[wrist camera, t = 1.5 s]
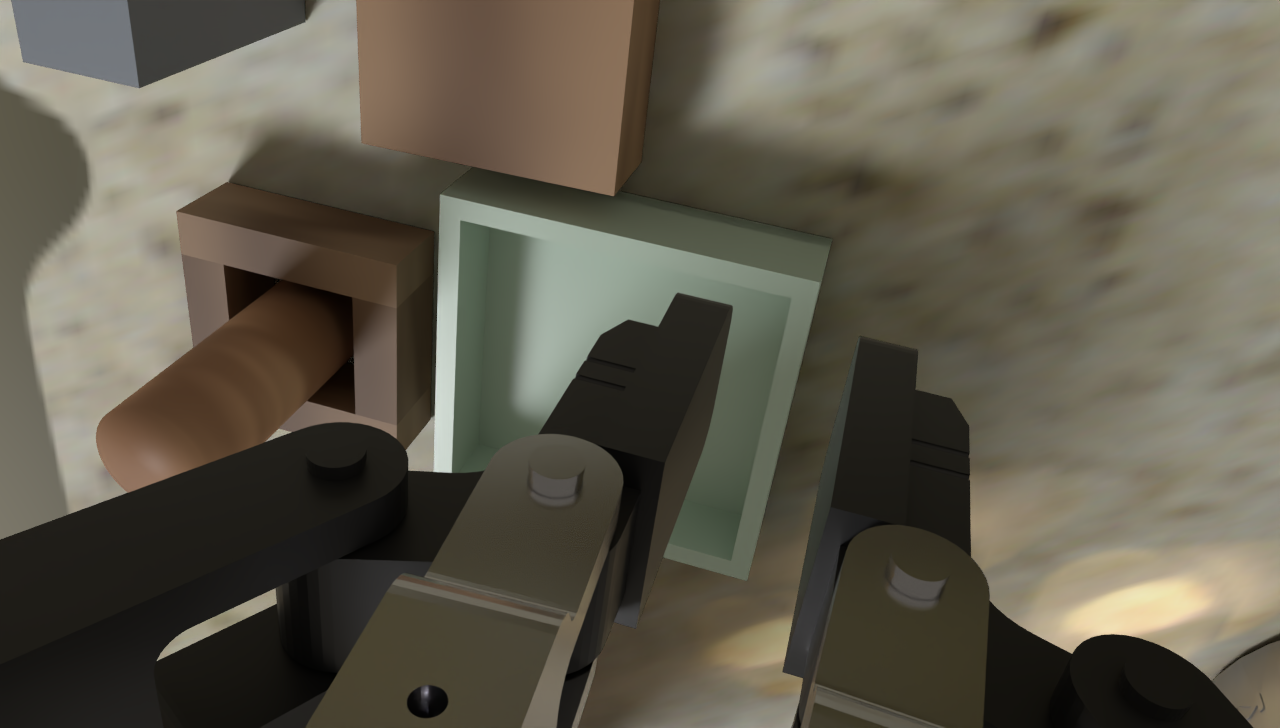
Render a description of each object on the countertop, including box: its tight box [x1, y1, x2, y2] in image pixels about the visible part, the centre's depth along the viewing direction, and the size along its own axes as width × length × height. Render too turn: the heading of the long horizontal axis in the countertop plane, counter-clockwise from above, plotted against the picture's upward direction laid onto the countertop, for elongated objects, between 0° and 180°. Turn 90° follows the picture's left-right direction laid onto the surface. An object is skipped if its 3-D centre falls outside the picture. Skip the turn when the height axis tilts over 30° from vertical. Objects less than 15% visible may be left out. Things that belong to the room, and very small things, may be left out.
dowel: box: [96, 280, 354, 493], centre depth 30 cm, size 3×3×9 cm
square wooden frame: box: [176, 182, 434, 450], centre depth 32 cm, size 7×7×2 cm
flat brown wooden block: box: [356, 0, 660, 196], centre depth 26 cm, size 7×7×3 cm
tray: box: [434, 167, 832, 581], centre depth 30 cm, size 10×10×3 cm
